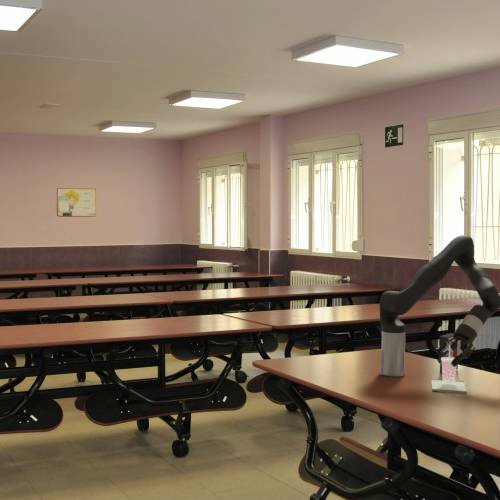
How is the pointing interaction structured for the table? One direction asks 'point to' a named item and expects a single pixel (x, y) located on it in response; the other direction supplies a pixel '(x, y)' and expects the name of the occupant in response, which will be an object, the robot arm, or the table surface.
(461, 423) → the table surface
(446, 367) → the beverage cup
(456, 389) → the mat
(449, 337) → the grey and red box
